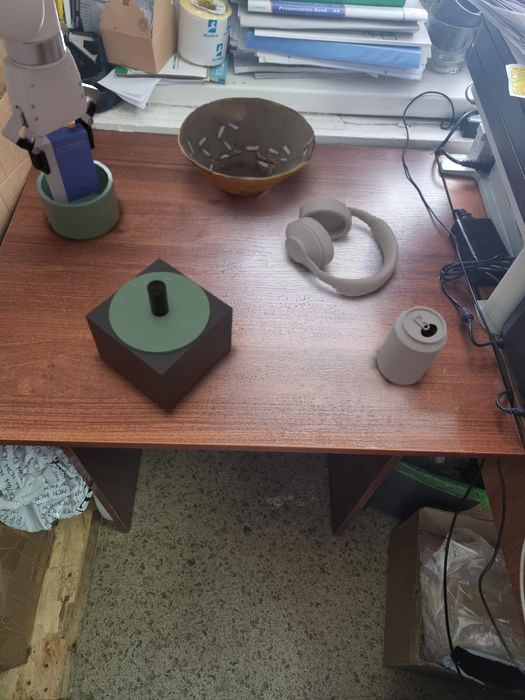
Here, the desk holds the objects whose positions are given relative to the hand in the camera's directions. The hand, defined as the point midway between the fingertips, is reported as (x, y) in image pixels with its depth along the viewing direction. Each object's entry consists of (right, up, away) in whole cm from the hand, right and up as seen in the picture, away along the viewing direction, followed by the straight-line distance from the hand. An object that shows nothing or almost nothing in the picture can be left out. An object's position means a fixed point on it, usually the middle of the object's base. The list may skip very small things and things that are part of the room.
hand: (65, 157), depth 81 cm
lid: (+18, -26, -13) cm, 34 cm away
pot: (-1, -6, +11) cm, 13 cm away
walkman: (-1, -4, +6) cm, 8 cm away
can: (+53, -34, -1) cm, 63 cm away
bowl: (+28, +3, +20) cm, 35 cm away
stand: (+17, -32, -4) cm, 36 cm away
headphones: (+46, -14, +10) cm, 49 cm away
